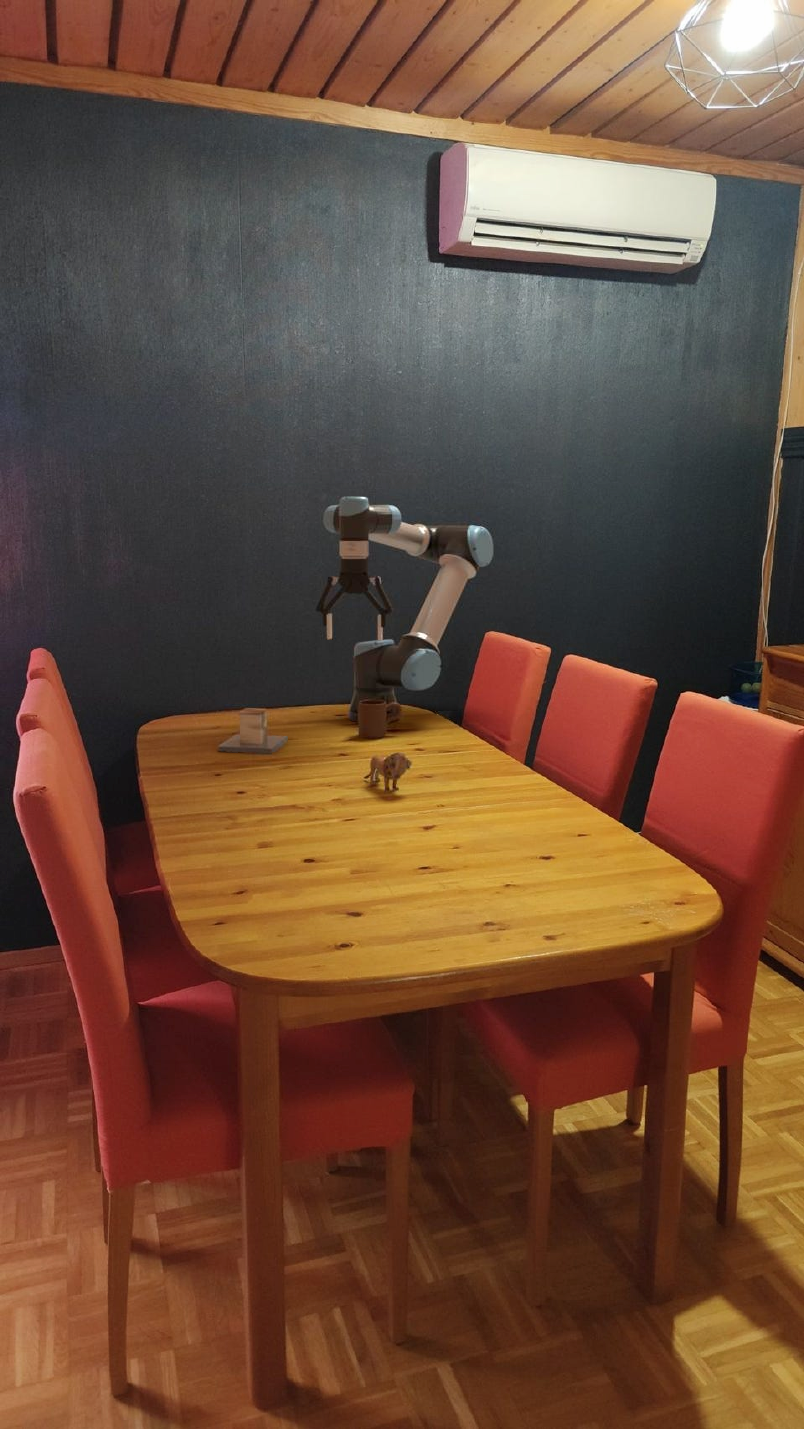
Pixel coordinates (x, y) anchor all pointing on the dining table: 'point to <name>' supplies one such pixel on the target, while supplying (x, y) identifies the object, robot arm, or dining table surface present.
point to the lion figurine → (388, 769)
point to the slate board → (253, 745)
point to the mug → (375, 718)
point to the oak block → (253, 725)
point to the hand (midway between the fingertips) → (354, 639)
